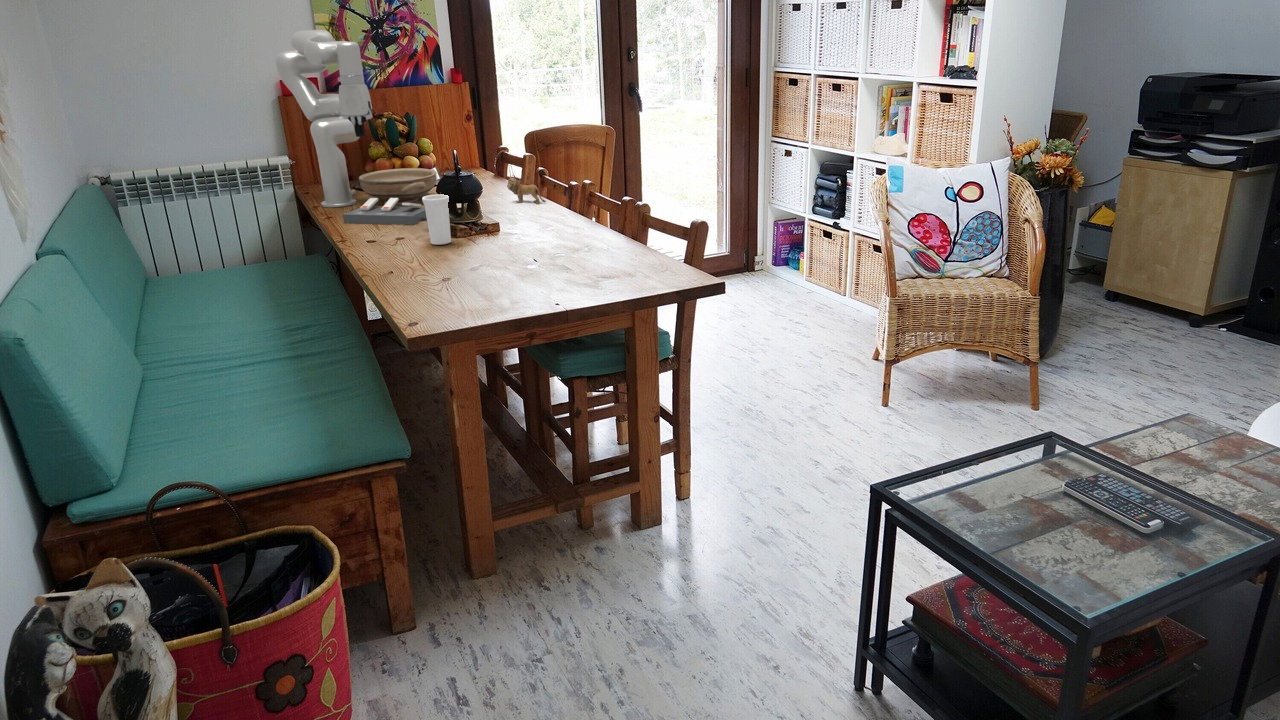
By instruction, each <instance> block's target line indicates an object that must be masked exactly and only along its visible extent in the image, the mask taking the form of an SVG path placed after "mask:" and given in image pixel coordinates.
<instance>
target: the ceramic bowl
mask: <svg viewBox="0 0 1280 720" xmlns="http://www.w3.org/2000/svg"><path fill="white" fill-rule="evenodd" d="M358 181H359V185H360V187H361V189H362V190H363V191H364V193H365V194H366V195H369V196H370V197H371V198H378V200H381V201H383V203H384V204H386V203H387V201H388V200H389V199H390V198H398V199H399V200H398V202H397V203H396V204H395V205H402V203H415V202H418V201H419V200H420V198H419V197H423V195H425V194H427V193H429V192H430V191H431V190H433V189H434V187H435V185H436V183H437V171H436V170H434V169H431V168H430V169H429V168H421V167H417V168H416V167H415V168H414V167H411V168H410V167H409V168H393V169H392V168H391V169H384V170H383V169H382V170H376V171H371V172H367V173H364V174H361V175H359V177H358Z"/></svg>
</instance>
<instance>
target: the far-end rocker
mask: <svg viewBox="0 0 1280 720" xmlns="http://www.w3.org/2000/svg"><path fill="white" fill-rule="evenodd" d="M378 201H379V199H378V198H375V197H369V198H368V199H367V201H366V202H364V204H363V205H361V206H360V207H359V208H360V209H361V210H369V209H370V208H371V207H372V206H374V205H375V204H376V203H377V202H378Z"/></svg>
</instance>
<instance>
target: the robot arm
mask: <svg viewBox="0 0 1280 720" xmlns="http://www.w3.org/2000/svg"><path fill="white" fill-rule="evenodd" d="M290 40H291V41H290V44H291V47H292V49H293V50H291V49H290V50H285V51H281V52H280V53H278V55H277V56H276V58H275V67H276V70H277V73H278V75H279V78H280V80H281V81H282V83H283V84H284V86H286V88H287V89H288V90H289V91H290V92H291V93H292V95H293V96H294V98H295V100H296V102H297V104H298V105H299V107H300V108H301V111H302V113H303V114H304V116H305V118H307V120H308V121H310V122H312V123H310V134H311V138H312V140H313V143H314V146H315V150H316V151H315V152H316V154H317V161H318V167H319V172H320V178H321V183H322V189H323V195H324V201H321V202H320V204H321V206H322V208H343V207H349V206H353V205H355V204H356V203H357V200H356V198H353V196H355V195H356V194H357V190H356V189H351V188H350V181H349V175H348V168H347V161H346V157H345V154H344V153H343V151H342V150H341V149H340V148H339V147H338V145H339V144H348V143H353V142H357V141H358V140H359V139H360V138H361V137H365V136H366V128H365V124H366V122H367V121H368V120H371V119H373V105H372V100H371V95H370V92H369V88H368V86H367V84H365V77H364V71H363V63H362V57H361V50H360V49H361V48H360V45H359V44H358V42H355V41H346V40H339V41H338V40H337V41H335V39H334V37H333V35H332V34H331V32H329V31H328V30H325V29H306V30H298V31H296V32H294V34H292V37H291V38H290ZM328 66H338V72H339V76H338V77H337V81H338V82H340V85H339V86H338V87H339V88H338V93H324V94H323V93H321V92H319V90H318V88H317V87H316V85H315V84H314V83H313V82H312V81H311V80H309V79H308V78H306V76H303V75H306V74H308V75H309V74H320V73H323V72H324V71H326V69H327V68H328Z"/></svg>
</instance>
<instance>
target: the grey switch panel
mask: <svg viewBox="0 0 1280 720" xmlns="http://www.w3.org/2000/svg"><path fill="white" fill-rule="evenodd" d="M383 206H384V205H383ZM383 206H381V205H375V206H374V205H373V206H372V207H371V208H370V209H369V210H361V209H360V207H358V208H355V209H353V210H351V211H348V212H345V213H343V214H342V217H343V224H360V225H361V224H362V225H363V224H366V225H367V224H368V225H392V224H399V225H400V224H404V225H403V226H414V225H416V224H418V222H419V223H421V222H423V221H422V220H427V217H426V211H425V206H421V207H419V206H393V208H392V209H391V210H390V211H381V208H382V207H383ZM420 221H421V222H420ZM415 223H416V224H415ZM406 224H407V225H406ZM413 224H414V225H413ZM399 225H398V226H399ZM400 226H401V225H400Z"/></svg>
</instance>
